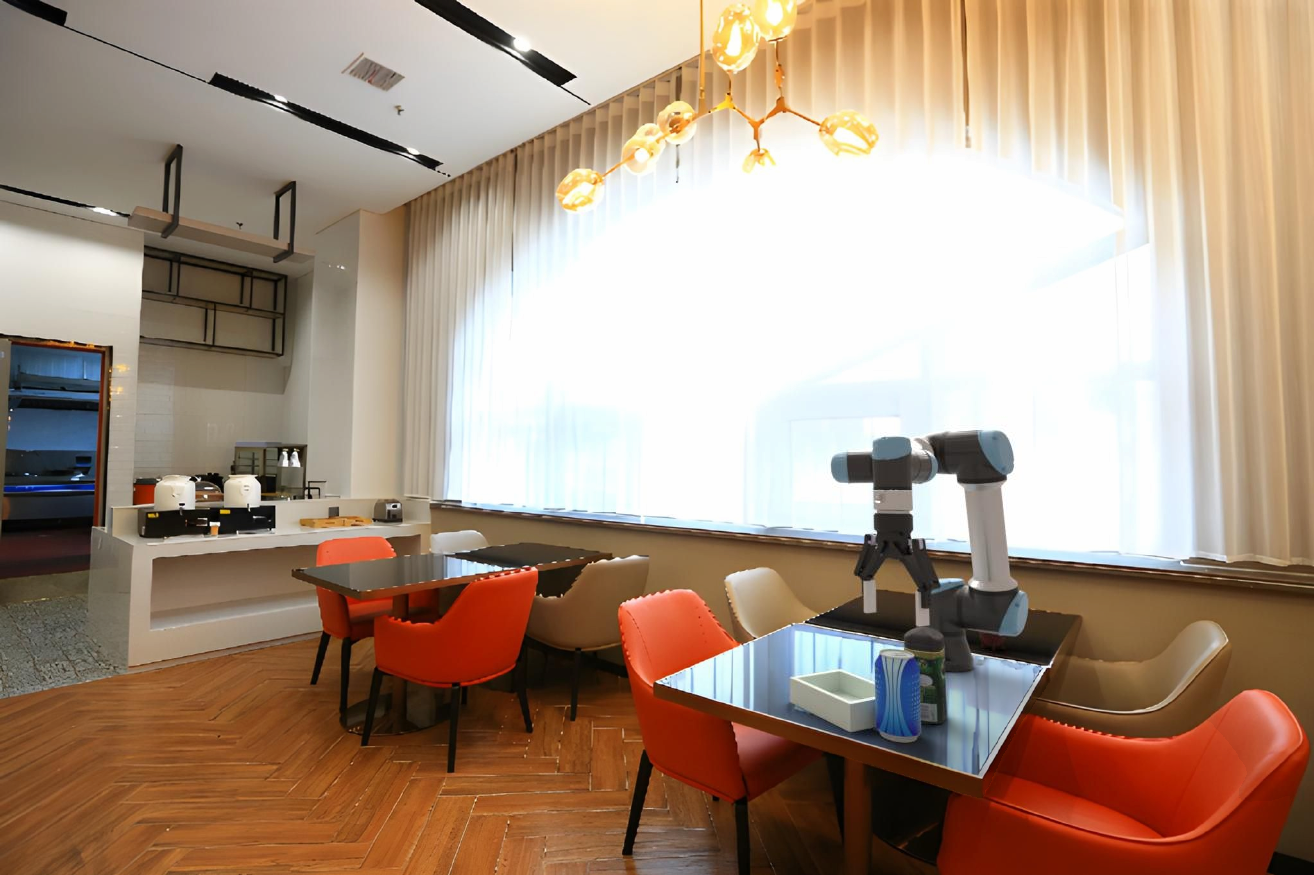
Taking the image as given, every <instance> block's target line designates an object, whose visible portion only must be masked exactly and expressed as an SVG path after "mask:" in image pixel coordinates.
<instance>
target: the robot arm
mask: <svg viewBox="0 0 1314 875" xmlns="http://www.w3.org/2000/svg"><path fill="white" fill-rule="evenodd" d="M1012 446H1013V445H1012V444H1011V441H1010V440H1009V437H1008V435H1007V434H1006V433H1005V432H1004V431H1003V430H1001V429H997V428H975V429H974V428H973V429H972V428H971V429H959V430H943V431H942V430H941V431H935V432H931V433H927V434H923V435H917V436H914V437H909V436H905V435H884V436H877V437H875V438H874V439H873V441H872V447H870V448H863V449H857V450H855V449H854V450H849V449H847V450H841V451H837V452H835V453H834V454H833V456H832V457H831V459H830V472H831V475H832V478H833V479H834V480H835V481H836V482H837V483H842V484H873V485H872V486H873V488H872V492H873V494H872V496H873V510H875V511H876V512H874V514H873V530H874V531H875V532H876V533H865V534H864V537H863V546H862V548H861V550H860V551H861V552H860V554H859V557H858V558H857V559H858V560H857V562H856V565H855V568H854V570H853V575H854V576H855V577H858V578H859V579H860V580H861V595H862V596H863V613H865V614H871V613H872V614H873V613H877V589H876V588H877V587H876V586H877V585H876V584H877V582H876V580H875V578H874V577H875V575H876V574H877V573H878V571H879V570H880V568H881V566H883V564H884V563H885V561H886V559H892V560H898V561H899V562H900V563H902V565H903V566H904V568H905V569H906V571H907V572H908V574H909V575H910V577H911V579H912V581H913V582H914V584H915V585H916V587H917V590H915V591H914V592H915V594H914V595H915V626H916V627H927V628H935V629H937V630H938V631H939V632H940V633H942V634H943V636H944V650H945V672H968V671H971V670H973V669H974V668H975V660H974V656H973V655H972V651H971V649H970V646H969V643H968V639H967V631H966V630H969V631H974V632H979V631H980V632H986V633H992V634H998V635H1000V636H1002V635H1005V636H1008V637H1017V636H1019V635H1020V634H1021V633H1023V630H1024V628H1025V626H1026V623H1027V618H1028V614H1029V597H1028V594H1027V592H1026V591H1023V590H1019V585H1018V582H1017V580H1015V579H1014V578H1013V577H1012V576H1011V573H1010V572H1011V571H1010V560H1009V551H1008V543H1007V541H1008V540H1007V530H1006V523H1005V522H1006V521H1005V514H1004V502H1003V490H1002V486H1003V485H1004V484H1005V483H1006V482H1007V480H1008V475H1010V474H1011V473H1012V472H1014V468H1015V464H1014V462H1015V456H1014V450H1013V447H1012ZM937 475H955V476H956V482H957V484H958V485H960V486H961V487H962V488H963V489H964V490H963V491H964V497H965V498H964V499H965V508H966V516H967V517H966V518H967V525H968V526H967V528H968V534H969V535H968V536H969V546H970V555H971V565H972V573H973V575H972V577H971V578H970V579H969V580H968V581H967V585H966V582H965V580H964V579H963V578H939V577H938V575H937V572H936V570H935V568H934V565H933V563H932V561H931V558H930V555H929V553H928V551H927V542H926V539H925V538H921V537H920V538H917V537H916V538H912V535H911V534H912V532H913V531H914V515H912V513H911V512H912V511H913V509H914V507H913V505H914V504H913V503H914V502H913V484H914V485H917V484H918V485H923V484H925V483H928V482H931V481H932V480H933V479H934V478H935V477H936V476H937Z"/></svg>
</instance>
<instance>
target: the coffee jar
mask: <svg viewBox="0 0 1314 875" xmlns="http://www.w3.org/2000/svg"><path fill="white" fill-rule="evenodd" d="M903 650H905V651H909V652H911V653H913V654H914V659H915V660H916V662H917V663H918V665H919V668H920V706H921V724H925V725H931V724H933V725H940V724H943V723H944V722H945V721H946V718H947V715H948V707H947V706H948V705H947V704H948V703H947V687H946V686H947V685H946V684H947V682H946V671H945V650H944V636H943V634H942V633H940V632H939V631H938V630H937V629H935V628H927V627H920V626H916V627H915V628H912V629H910V630H908V631H906V633H905V634H903Z"/></svg>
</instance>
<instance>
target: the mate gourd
mask: <svg viewBox="0 0 1314 875" xmlns="http://www.w3.org/2000/svg"><path fill="white" fill-rule="evenodd" d="M978 632H979V633H978V634H979V640H980V643H981V646H980V647H981V648H982V649H991V650H992V651H994V652H996V651H997V650H1005V647H1004V646H1005V641H1006V635H1002V636H1000V635H998V634H992V633H986V632H980V631H978Z"/></svg>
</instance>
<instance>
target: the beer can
mask: <svg viewBox="0 0 1314 875" xmlns="http://www.w3.org/2000/svg"><path fill="white" fill-rule="evenodd" d="M878 653H879V654H878V656H877V657H876V659H875V661H874V682H875V710H876V727H875V728H876V729H877V731H878V732H879V734H880V736H881V737H882V738H884V739H885V740H889V741H892V742H896V743H905V744H906V743H908V744H909V743H912V742H916V741H917V739H918V737H919V736H920V735H921V734H922V723H921V706H920V668H919V665H918V663H917V662H916V660H915V659H914V654H913V653H911V652H909V651H905V650H904V649H897V648H885V649H881V650H879V651H878Z"/></svg>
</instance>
